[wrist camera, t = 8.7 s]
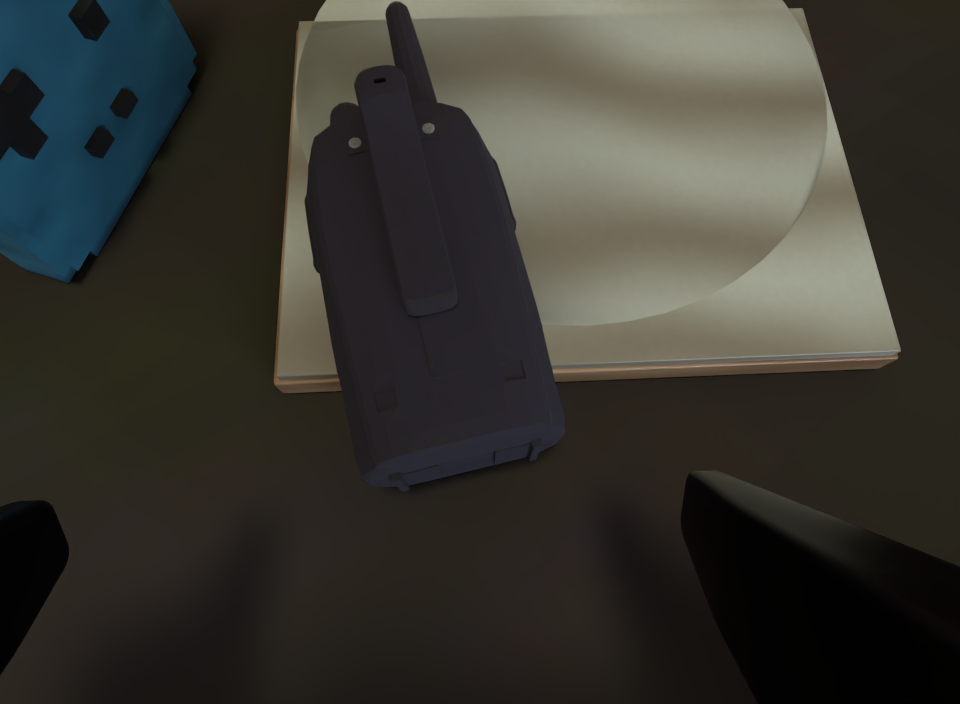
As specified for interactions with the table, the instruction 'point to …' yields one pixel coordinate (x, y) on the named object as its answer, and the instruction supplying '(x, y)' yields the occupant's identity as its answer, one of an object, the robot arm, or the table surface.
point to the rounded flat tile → (625, 182)
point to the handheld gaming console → (81, 120)
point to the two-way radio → (425, 282)
